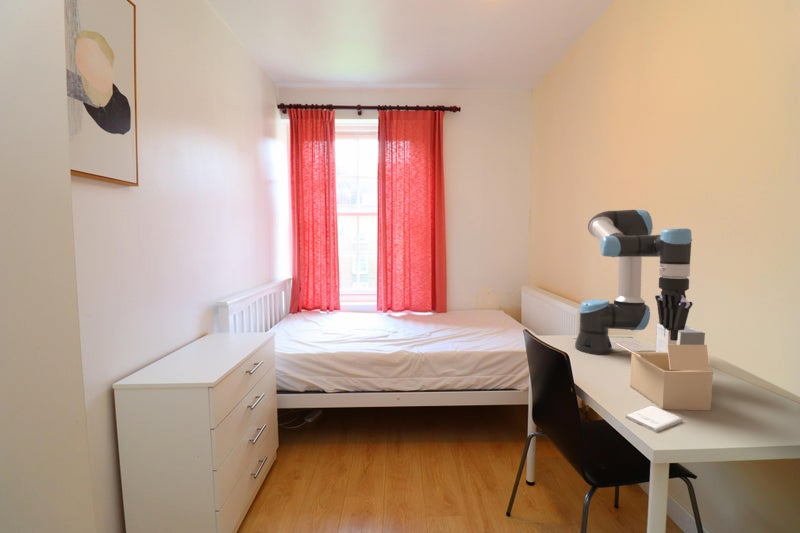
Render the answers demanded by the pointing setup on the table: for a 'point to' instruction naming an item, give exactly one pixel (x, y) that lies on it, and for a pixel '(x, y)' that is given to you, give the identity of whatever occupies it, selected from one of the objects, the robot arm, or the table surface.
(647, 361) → the flap
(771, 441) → the table surface
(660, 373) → the carton
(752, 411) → the table surface
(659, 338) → the hard drive box
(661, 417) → the external hard drive
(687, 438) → the table surface
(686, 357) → the flap
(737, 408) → the table surface
